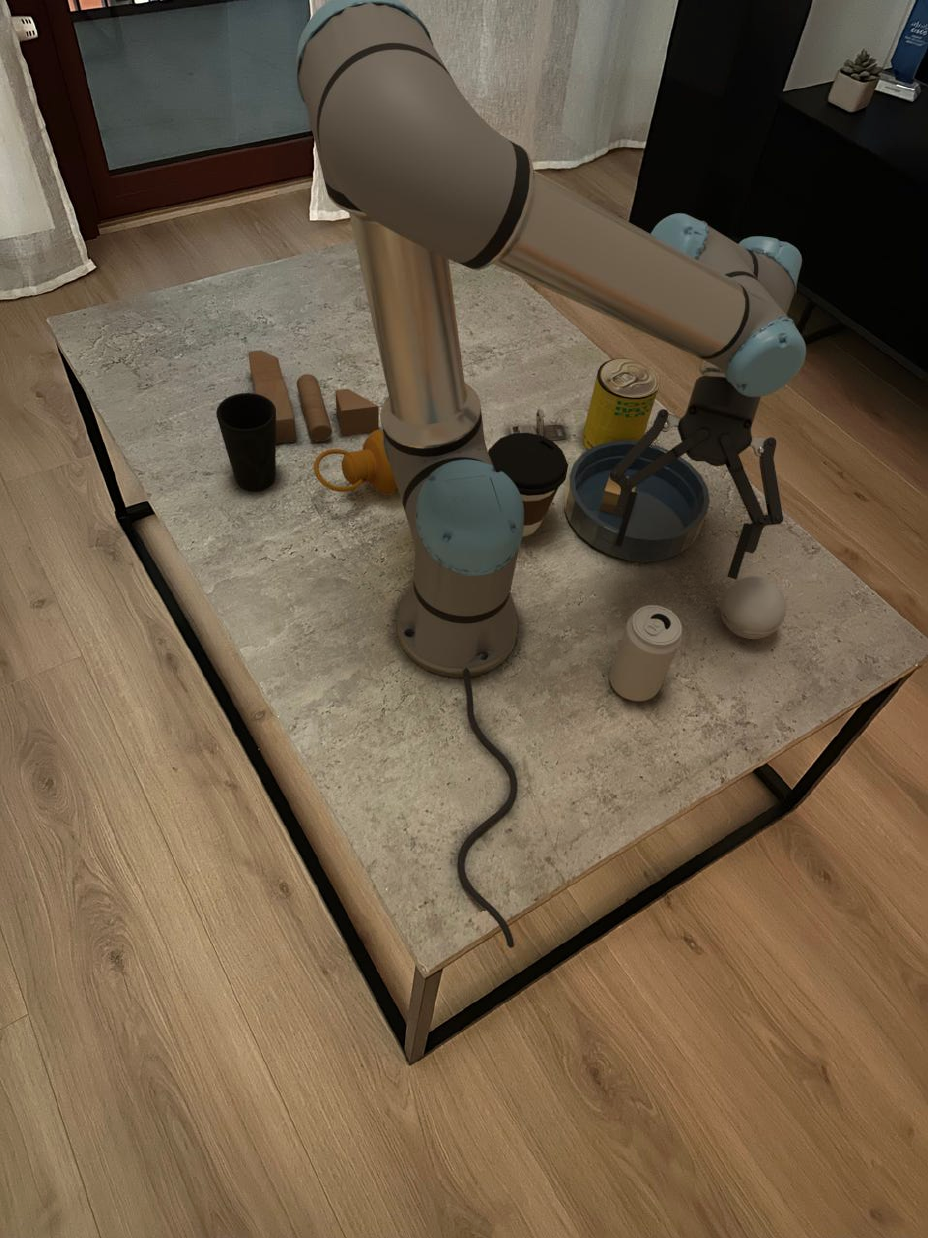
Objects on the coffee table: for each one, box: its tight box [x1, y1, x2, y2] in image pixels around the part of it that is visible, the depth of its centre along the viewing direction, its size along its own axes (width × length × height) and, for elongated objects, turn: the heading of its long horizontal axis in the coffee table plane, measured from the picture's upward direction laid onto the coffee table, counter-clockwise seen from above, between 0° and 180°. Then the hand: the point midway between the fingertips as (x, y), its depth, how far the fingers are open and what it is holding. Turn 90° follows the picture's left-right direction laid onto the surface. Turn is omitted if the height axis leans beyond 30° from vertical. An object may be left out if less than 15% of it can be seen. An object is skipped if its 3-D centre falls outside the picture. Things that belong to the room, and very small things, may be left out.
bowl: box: [563, 440, 711, 563], centre depth 127 cm, size 20×20×5 cm
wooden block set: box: [247, 349, 380, 445], centre depth 136 cm, size 17×6×18 cm
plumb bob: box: [313, 429, 399, 496], centre depth 126 cm, size 9×9×25 cm
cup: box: [215, 392, 277, 493], centre depth 123 cm, size 8×8×12 cm
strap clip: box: [509, 408, 567, 441], centre depth 136 cm, size 8×3×4 cm, turn 100°
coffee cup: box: [487, 432, 569, 538], centre depth 121 cm, size 11×11×12 cm
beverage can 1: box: [581, 357, 661, 451], centre depth 134 cm, size 9×9×12 cm
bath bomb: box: [720, 576, 787, 640], centre depth 115 cm, size 8×8×8 cm
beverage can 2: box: [608, 604, 683, 702], centre depth 106 cm, size 6×6×12 cm
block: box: [599, 475, 636, 515], centre depth 127 cm, size 4×4×4 cm
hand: (674, 562), depth 105 cm, fingers open, 13 cm apart
